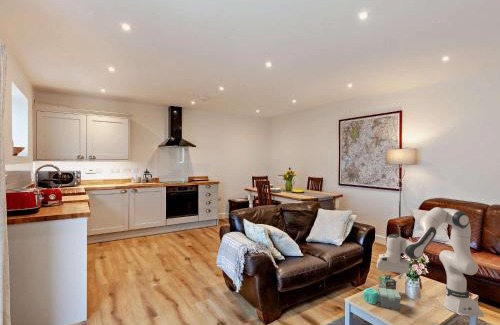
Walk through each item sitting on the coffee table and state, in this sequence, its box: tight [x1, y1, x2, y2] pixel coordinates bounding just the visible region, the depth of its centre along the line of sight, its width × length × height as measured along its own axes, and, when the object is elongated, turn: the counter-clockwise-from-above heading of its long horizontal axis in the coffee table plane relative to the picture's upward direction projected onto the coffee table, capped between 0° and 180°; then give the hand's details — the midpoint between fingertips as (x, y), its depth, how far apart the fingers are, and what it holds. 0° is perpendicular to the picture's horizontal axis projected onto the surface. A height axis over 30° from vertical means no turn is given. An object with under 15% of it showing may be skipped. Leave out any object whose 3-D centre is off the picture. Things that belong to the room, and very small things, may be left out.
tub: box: [378, 291, 401, 311], centre depth 196 cm, size 12×10×8 cm
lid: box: [378, 287, 402, 301], centre depth 194 cm, size 13×15×3 cm
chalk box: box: [378, 274, 397, 290], centre depth 213 cm, size 9×9×15 cm
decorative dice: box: [362, 287, 379, 305], centre depth 201 cm, size 8×8×8 cm
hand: (392, 277), depth 189 cm, fingers open, 8 cm apart
